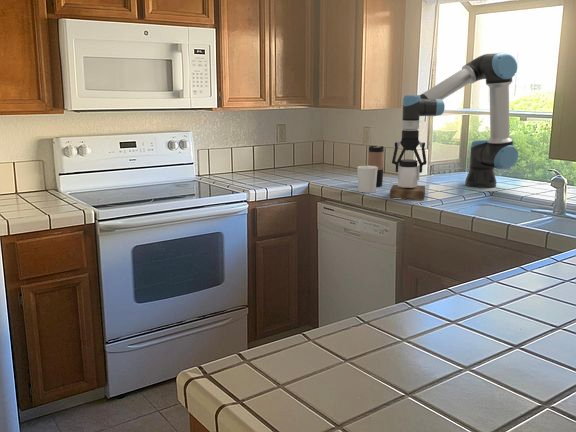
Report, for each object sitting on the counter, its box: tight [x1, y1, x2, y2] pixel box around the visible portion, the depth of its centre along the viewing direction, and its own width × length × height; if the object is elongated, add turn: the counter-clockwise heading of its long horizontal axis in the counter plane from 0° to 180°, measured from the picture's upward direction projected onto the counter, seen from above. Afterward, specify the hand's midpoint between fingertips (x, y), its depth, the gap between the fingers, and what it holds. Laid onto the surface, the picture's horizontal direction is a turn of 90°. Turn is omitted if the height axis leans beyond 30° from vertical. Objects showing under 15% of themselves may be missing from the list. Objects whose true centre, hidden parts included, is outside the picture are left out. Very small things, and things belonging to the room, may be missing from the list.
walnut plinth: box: [389, 184, 426, 201], centre depth 275 cm, size 15×15×4 cm
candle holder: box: [356, 165, 378, 194], centre depth 287 cm, size 10×10×12 cm
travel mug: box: [367, 145, 385, 188], centre depth 301 cm, size 8×8×20 cm
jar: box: [397, 158, 419, 188], centre depth 273 cm, size 9×8×12 cm
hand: (408, 179), depth 274 cm, fingers closed on jar, 8 cm apart
